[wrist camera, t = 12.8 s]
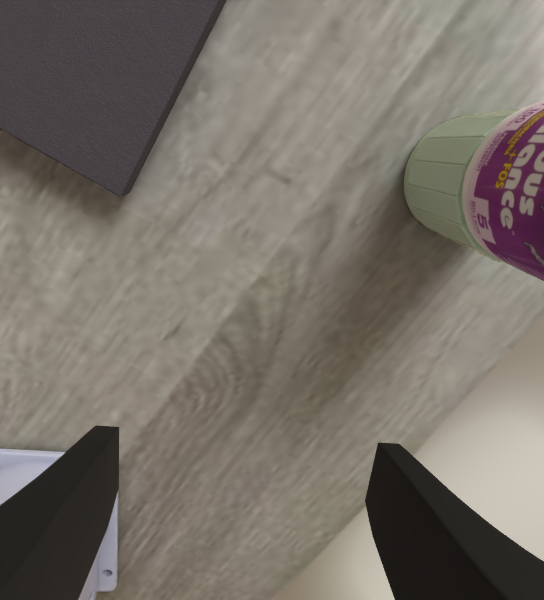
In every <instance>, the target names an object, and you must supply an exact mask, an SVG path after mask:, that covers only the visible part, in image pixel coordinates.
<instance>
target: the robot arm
mask: <svg viewBox="0 0 544 600" xmlns="http://www.w3.org/2000/svg"><path fill="white" fill-rule="evenodd" d="M118 489H119V427H110V426H95V427H94V428H92V429H91V430H90V431H89V432H88V433H87V434H85V435H84V436H83V437H82V438H81V439H80V440H79V441H78V442H77V443H76V444H74V445H73V446H72V447H71V448H70V449H69V450H68V451H67V452H55V451H37V450H18V449H0V600H95V597H96V594H97V591H106V592H108V591H112V590H114V589H115V588H116V585H117V581H118ZM365 502H366V507H367V512H368V517H369V522H370V526H371V530H372V535H373V538H374V541H375V544H376V547H377V550H378V553H379V556H380V559H381V561H382V564H383V567H384V570H385V573H386V576H387V578H388V581H389V584H390V587H391V590H392V592H393V595H394V598H395V600H544V561H542V560H540V559H539V558H537V557H536V556H534V555H533V554H531V553H529V552H528V551H527V550H525V549H524V548H522V547H521V546H519V545H518V544H517V543H515V542H514V541H513V540H511V539H510V538H508V537H507V536H506V535H504V534H503V533H501V532H500V531H499V530H497V529H496V528H495V527H493V526H492V525H491V524H489V523H488V522H487V521H486V520H484V519H483V518H482V517H481V516H479V515H478V514H477V513H476V512H475V511H473V510H472V509H471V508H470V507H469V506H467V505H466V504H465V503H464V502H463V501H462V500H460V499H459V498H458V497H457V496H456V495H454V494H453V493H452V492H451V491H450V490H449V489H448V488H447V487H446V486H445V485H443V484H442V483H441V482H440V481H439V480H438V479H437V478H436V477H435V476H434V475H433V474H431V473H430V472H429V471H428V470H427V469H426V468H425V467H424V466H423V465H422V464H421V463H420V462H419V461H418V460H416V459H415V458H414V457H413V456H412V455H411V454H410V453H409V452H408V451H407V450H406V449H404V448H403V447H402V446H401V445H400V444H392V443H378V446H377V450H376V455H375V459H374V464H373V468H372V472H371V477H370V481H369V486H368V490H367V495H366V499H365Z"/></svg>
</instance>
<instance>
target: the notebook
mask: <svg viewBox="0 0 544 600" xmlns="http://www.w3.org/2000/svg"><path fill="white" fill-rule="evenodd" d="M225 2H226V0H0V129H1V130H3V131H5V132H7V133H8V134H10V135H12V136H14V137H15V138H17V139H19V140H21V141H23V142H24V143H26V144H28V145H30V146H31V147H33V148H35V149H37V150H38V151H40V152H42V153H44V154H45V155H47V156H49V157H51V158H52V159H54V160H56V161H58V162H60V163H61V164H63V165H65V166H67V167H68V168H70V169H72V170H74V171H75V172H77V173H79V174H81V175H82V176H84V177H86V178H88V179H89V180H91V181H93V182H95V183H97V184H98V185H100V186H102V187H104V188H105V189H107V190H109V191H111V192H112V193H114V194H116V195H118V196H120V197H121V196H123V195H125V194H128V193H129V192H130V190H131V188H132V186H133V184H134V182H135V180H136V178H137V176H138V174H139V172H140V170H141V168H142V166H143V165H144V163H145V161H146V159H147V157H148V155H149V153H150V151H151V149H152V147H153V145H154V143H155V141H156V139H157V137H158V135H159V133H160V131H161V129H162V127H163V125H164V123H165V121H166V119H167V117H168V115H169V113H170V111H171V109H172V107H173V105H174V103H175V101H176V99H177V97H178V95H179V93H180V91H181V89H182V87H183V85H184V83H185V81H186V79H187V77H188V75H189V73H190V71H191V69H192V67H193V65H194V63H195V61H196V59H197V57H198V55H199V53H200V51H201V49H202V47H203V45H204V43H205V41H206V39H207V38H208V36H209V34H210V32H211V30H212V28H213V26H214V24H215V22H216V20H217V18H218V16H219V14H220V12H221V10H222V8H223V6H224V4H225Z"/></svg>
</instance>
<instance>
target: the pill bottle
mask: <svg viewBox="0 0 544 600" xmlns="http://www.w3.org/2000/svg"><path fill="white" fill-rule="evenodd" d="M462 206H463V213H464V216H465V220H466V223H467V226H468V228H469V231H470V232H471V234H472V235H473V237H474V239H475V240H476V241H477V242H478V243H479V245H480V246H481V247H482V248H484V249H485V250H486V251H487V252H488V253H490V254H491V255H493V256H494V257H496V258H498V259H499V260H501V261H503V262H505V263H507V264H510V265H512V266H514V267H516V268H518V269H520V270H522V271H524V272H526V273H528V274H530V275H533V276H534V277H537V278H539V279H541V280H543V281H544V101H541V102H537V103H534V104H531V105H528V106H526V107H524V108H521V109H519V110H518V111H516V112H514V113H513V114H511V115H509V116H508V117H506V118H505V119H504V120H503V121H501V122H500V123H499V124H498V125H497V126H496V127H495V128H494V129H493V130H492V131H491V132H490V133H489V134H488V135H487V136H486V138H485V139H484V140H483V142H482V143H481V145H480V146H479V147H478V148H477V150H476V151H475V153H474V155H473V157H472V159H471V162H470V164H469V166H468V168H467V170H466V173H465V176H464V182H463V189H462Z"/></svg>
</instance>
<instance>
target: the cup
mask: <svg viewBox="0 0 544 600" xmlns="http://www.w3.org/2000/svg"><path fill="white" fill-rule="evenodd" d="M520 109H521V108H520ZM518 110H519V109H512V110H504V111H496V112H488V113H480V114H472V115H466V116H463V117H457V118H453V119H450V120H447V121H445V122H443V123H441V124H439V125H437V126H436V127H434V128H433V129H431V130H430V131H429V132H428V133H427V134H426V135H424V137H423V138H422V139H421V140H420V141H419V142H418V144H417V145H416V147H415V148H414V150H413V152H412V153H411V155H410V158H409V160H408V163H407V166H406V170H405V175H404V193H405V198H406V202H407V204H408V207H409V209H410V211H411V212H412V214H413V215H414V217H415V218H416V219H417V220H418V221H419V222H420V223H421V224H422V225H424V226H425V227H426V228H428V229H430V230H432V231H434V232H436V233H437V234H439V235H441V236H443V237H445V238H447V239H450V240H452V241H454V242H456V243H458V244H460V245H462V246H465V247H467V248H469V249H471V250H473V251H475V252H477V253H480V254H482V255H484V256H486V257H488V258H490V259H492V260H495V261H498V262H503V261H501V260H499V259H498V258H496V257H494V256H493V255H491V254H490V253H488V252H487V251H486V250H485V249H484V248H482V247H481V246H480V245H479V243H478V242H477V241H476V240H475V239H474V237H473V235H472V234H471V232H470V231H469V228H468V226H467V223H466V220H465V216H464V213H463V206H462V189H463V182H464V176H465V173H466V170H467V168H468V166H469V164H470V162H471V159H472V157H473V155H474V153H475V151H476V150H477V148H478V147H479V146H480V145H481V143H482V142H483V140H484V139H485V138H486V136H487V135H488V134H489V133H490V132H491V131H492V130H493V129H494V128H495V127H496V126H497V125H498V124H499V123H500V122H501V121H503V120H504V119H505V118H506V117H508V116H509V115H511V114H513V113H514V112H516V111H518Z"/></svg>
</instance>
